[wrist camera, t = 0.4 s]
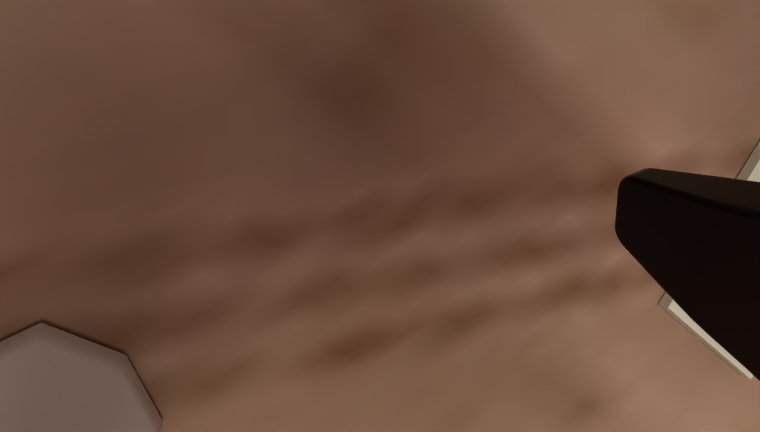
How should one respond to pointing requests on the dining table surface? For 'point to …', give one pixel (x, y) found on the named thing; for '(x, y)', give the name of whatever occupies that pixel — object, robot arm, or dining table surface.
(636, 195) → the robot arm
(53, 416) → the flask
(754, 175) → the strip
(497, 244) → the dining table surface
